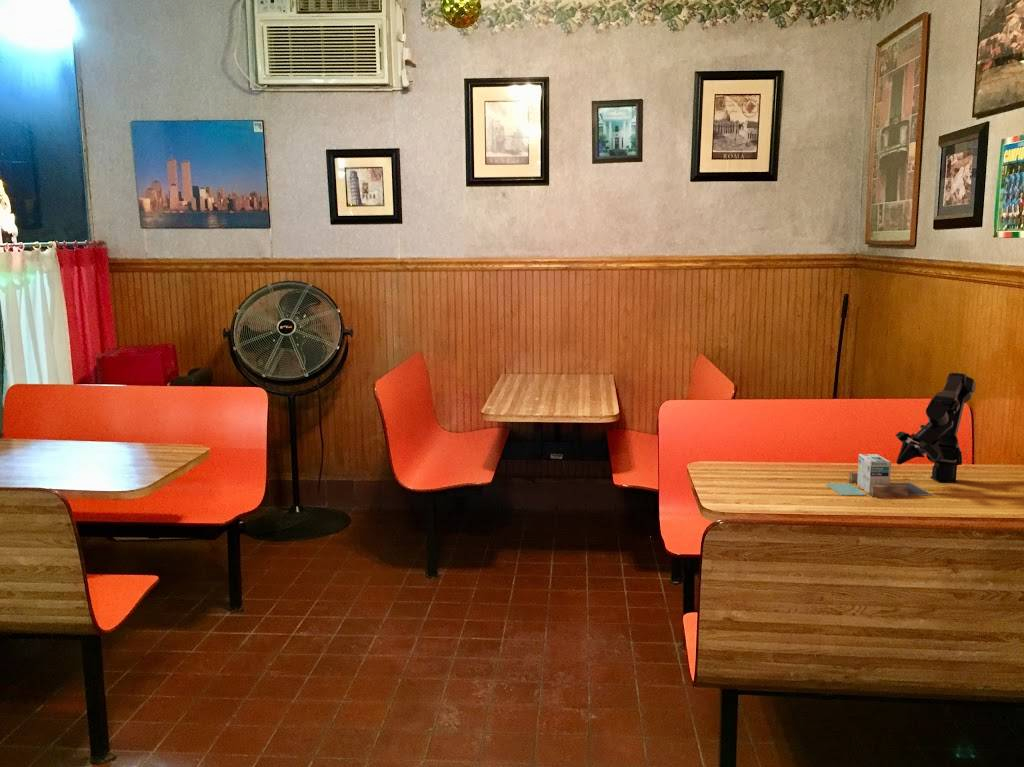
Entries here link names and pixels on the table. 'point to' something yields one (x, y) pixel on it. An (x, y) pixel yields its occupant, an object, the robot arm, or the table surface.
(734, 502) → the table surface
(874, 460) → the light bulb box
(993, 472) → the table surface
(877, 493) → the walnut track
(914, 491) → the mat
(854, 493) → the teal pad
